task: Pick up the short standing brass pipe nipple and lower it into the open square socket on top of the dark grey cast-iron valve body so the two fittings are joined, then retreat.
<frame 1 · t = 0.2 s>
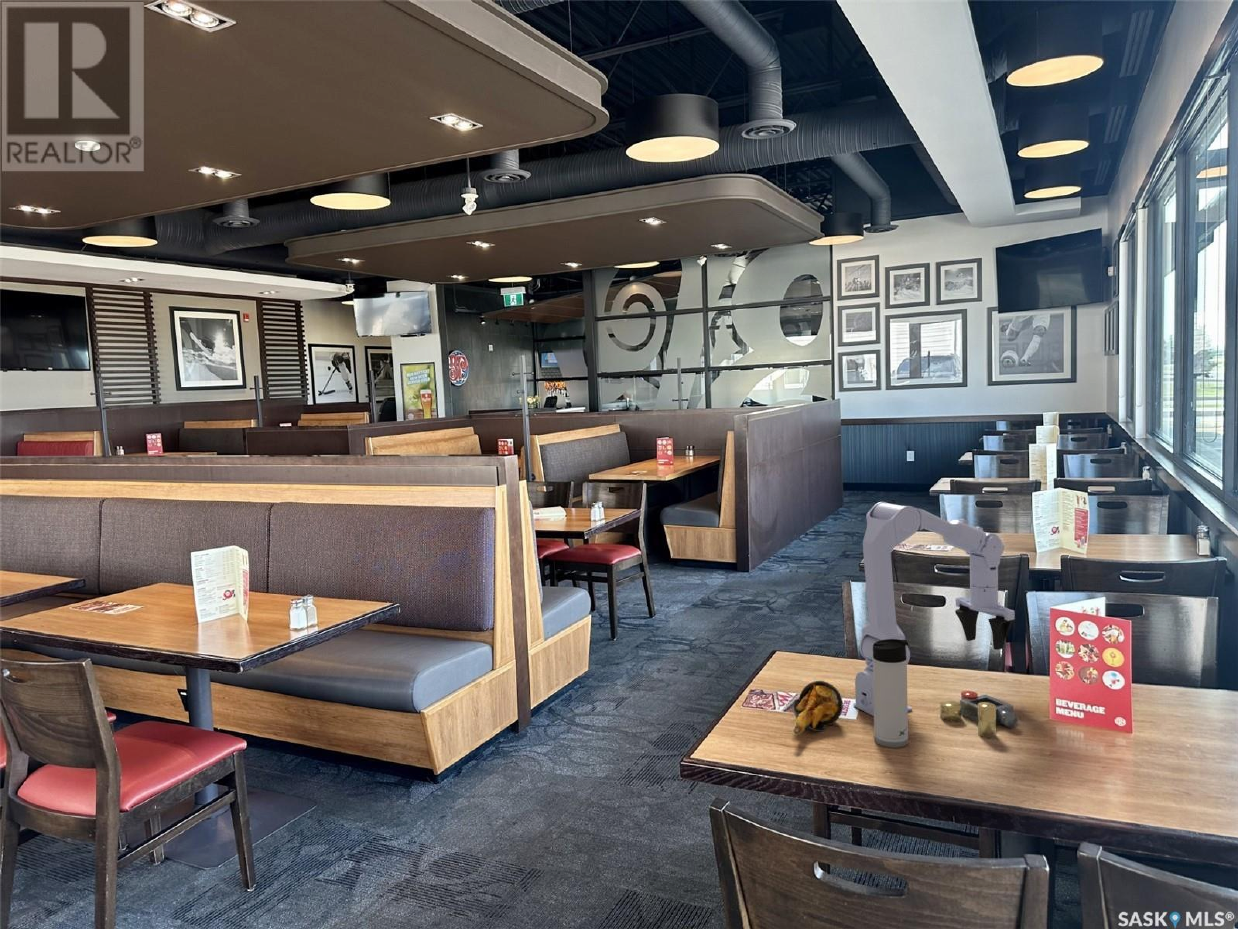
hand: (984, 644, 182), 10 cm above the table, fingers open, 7 cm apart
valve body: (986, 717, 166), on the table
fried food: (812, 730, 164), on the table
brass nipple: (987, 735, 158), on the table
travel mug: (892, 742, 157), on the table
brass union nut: (950, 718, 167), on the table
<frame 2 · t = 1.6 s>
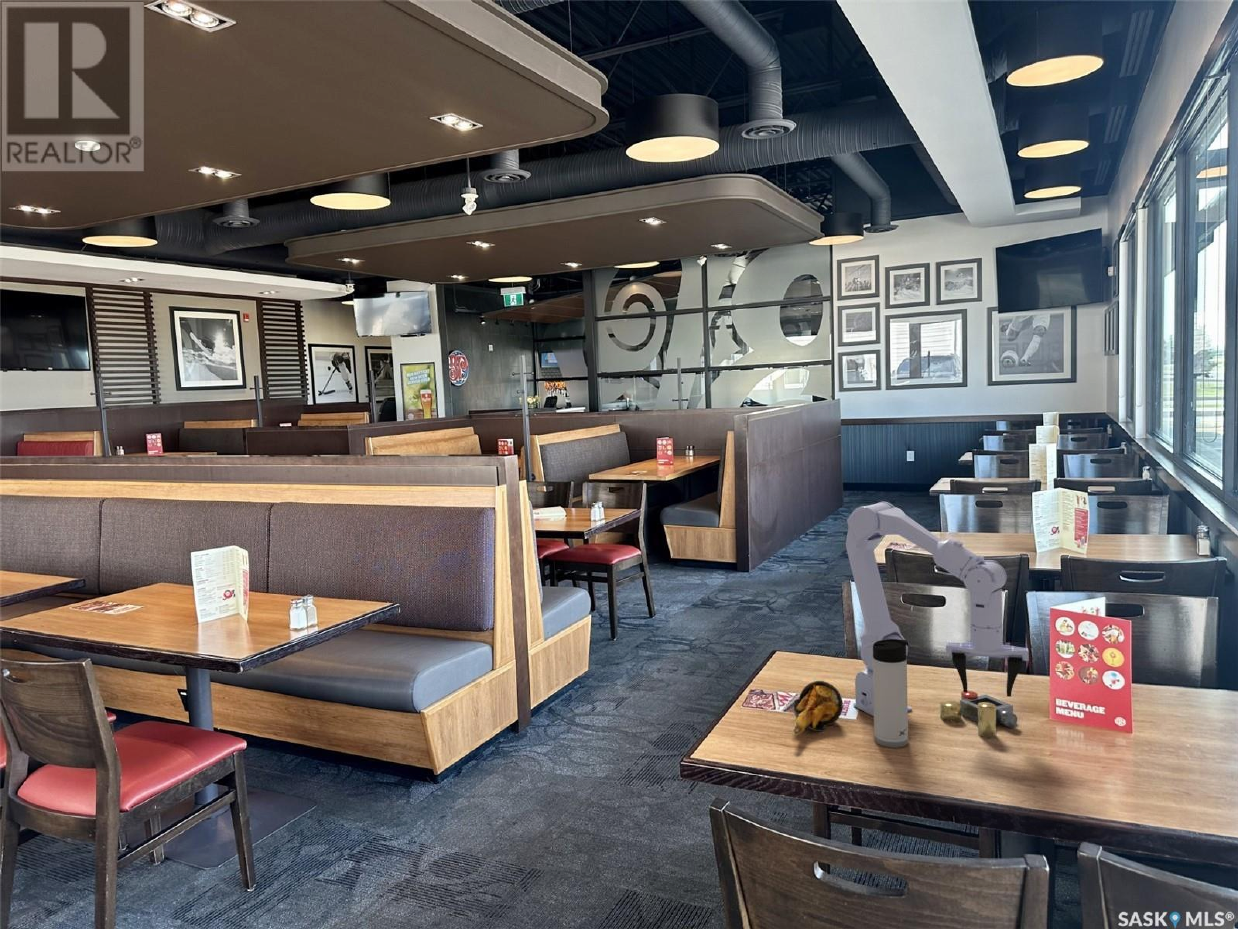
hand: (986, 692, 157), 8 cm above the table, fingers open, 7 cm apart
nothing on the table moved.
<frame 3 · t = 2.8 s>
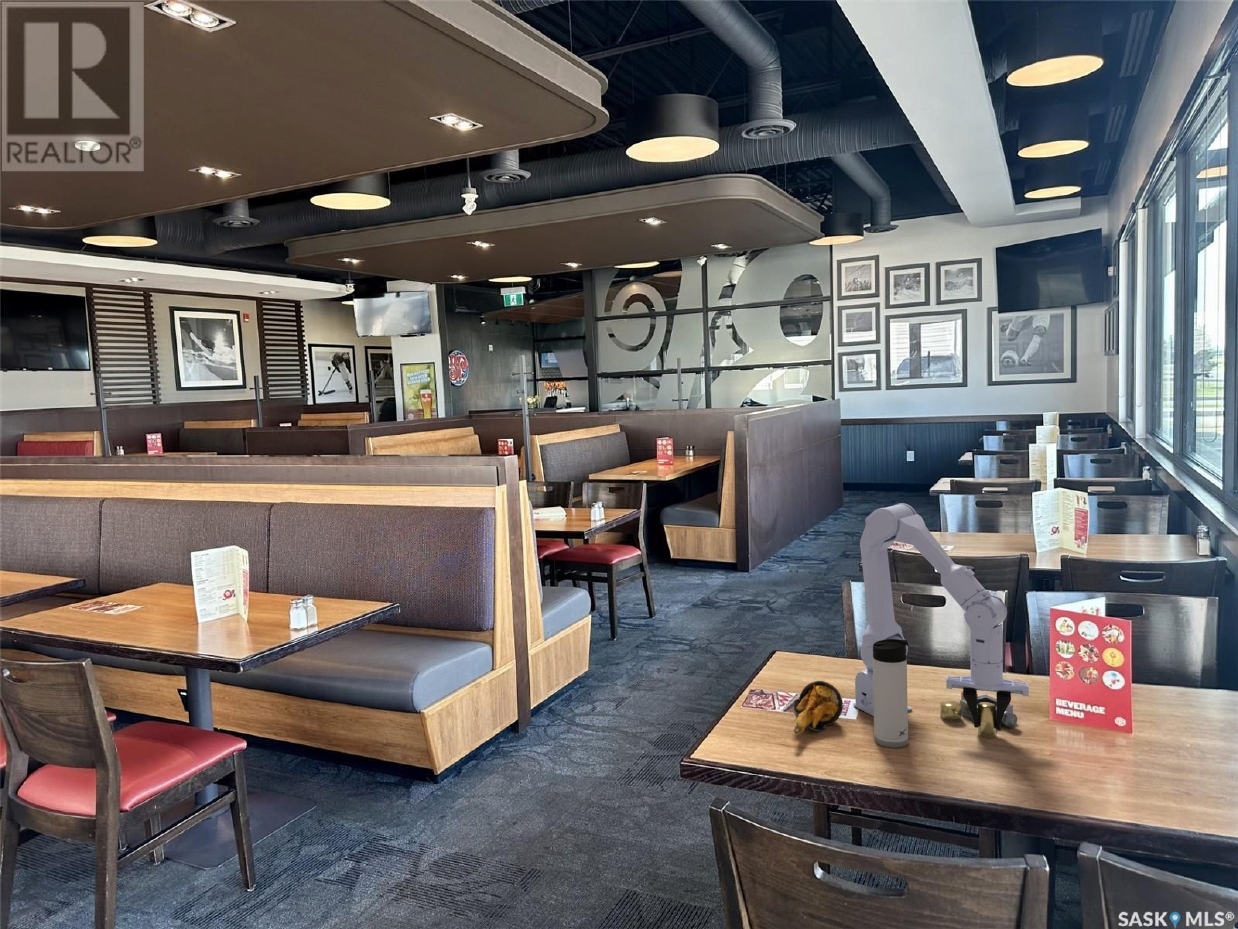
hand: (987, 727, 158), 2 cm above the table, fingers closed on brass nipple, 3 cm apart
brass nipple: (987, 735, 158), on the table, touching gripper
everything else where it was.
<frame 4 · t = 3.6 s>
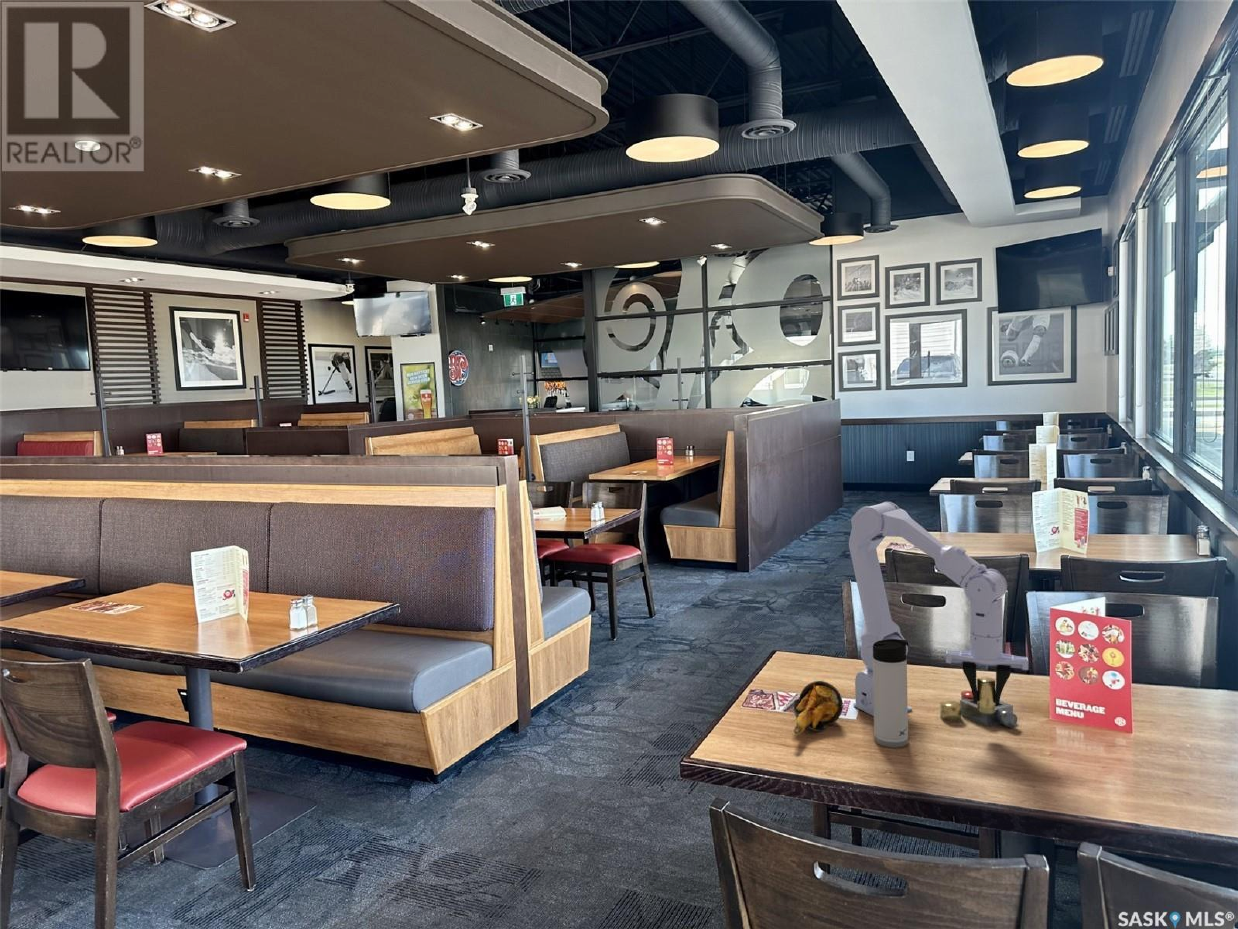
hand: (986, 701, 157), 7 cm above the table, fingers closed on brass nipple, 3 cm apart
brass nipple: (986, 710, 157), point 5 cm above the table, touching gripper
everything else where it was.
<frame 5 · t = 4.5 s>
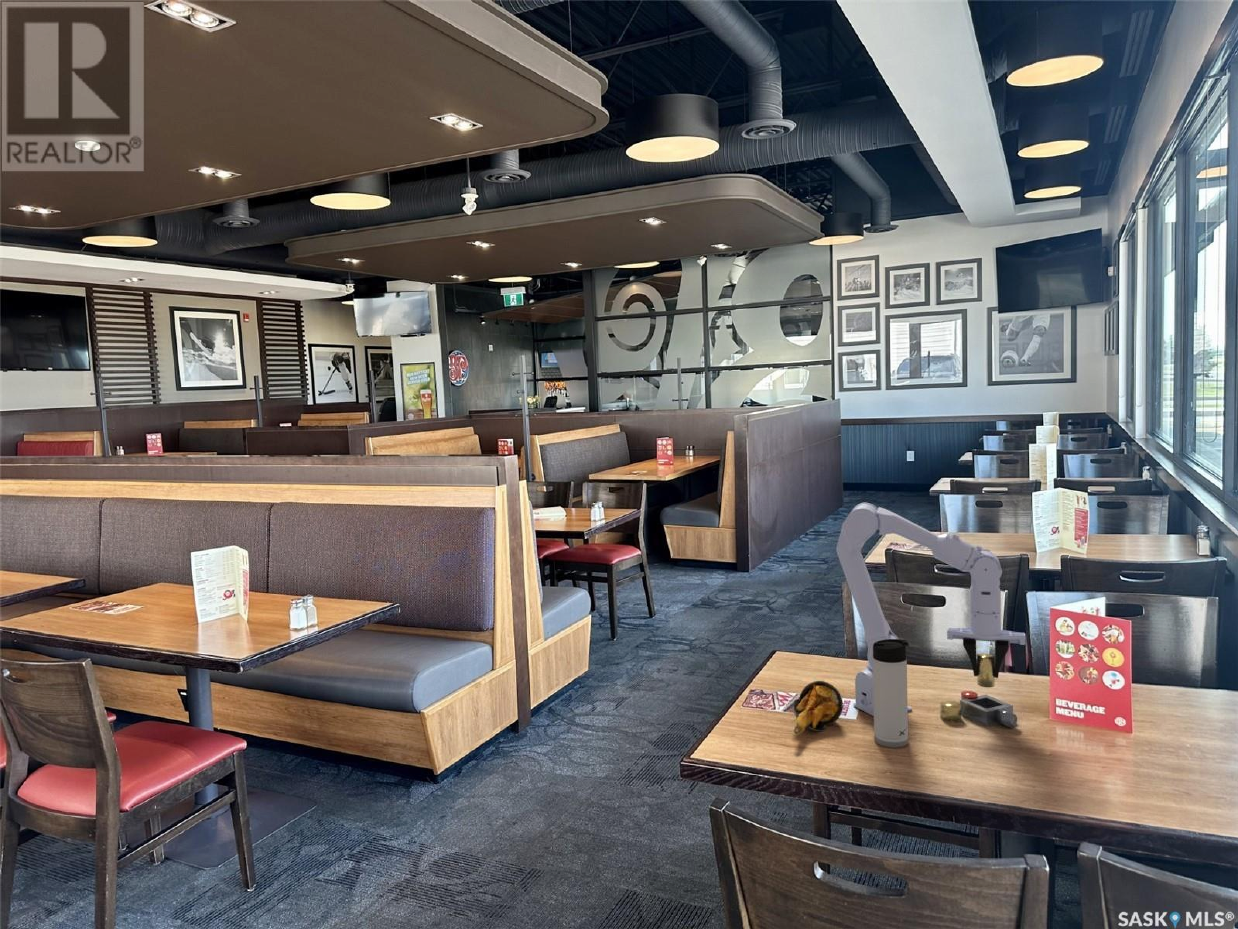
hand: (985, 675, 165), 9 cm above the table, fingers closed on brass nipple, 3 cm apart
brass nipple: (985, 684, 166), point 7 cm above the table, touching gripper
everything else where it was.
when the fingers open (4 cm above the table, at t = 5.7 s): brass nipple drops 1 cm, resting on valve body.
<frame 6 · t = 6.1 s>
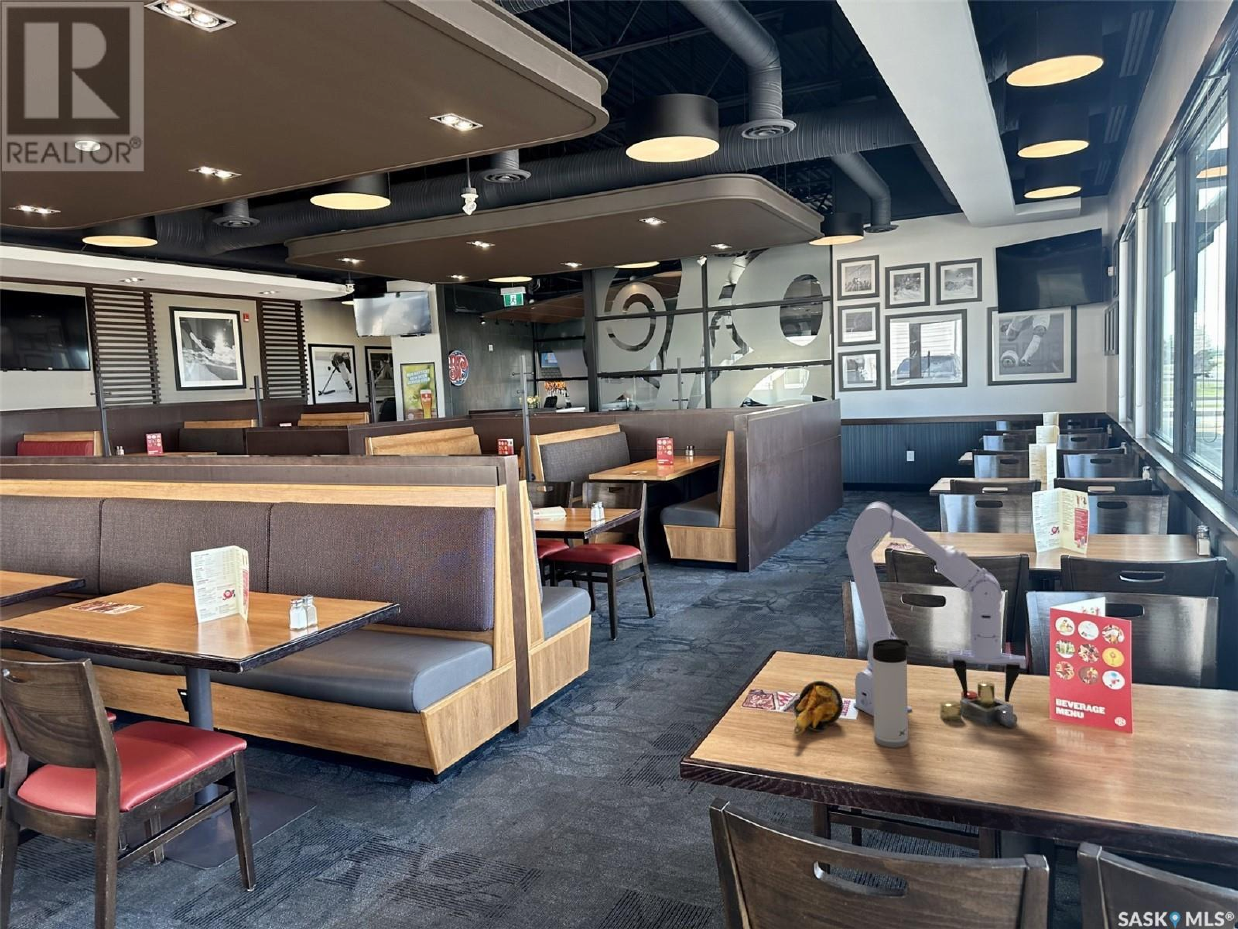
hand: (986, 698, 166), 4 cm above the table, fingers open, 7 cm apart
brass nipple: (986, 712, 166), point 1 cm above the table, touching valve body
everything else where it was.
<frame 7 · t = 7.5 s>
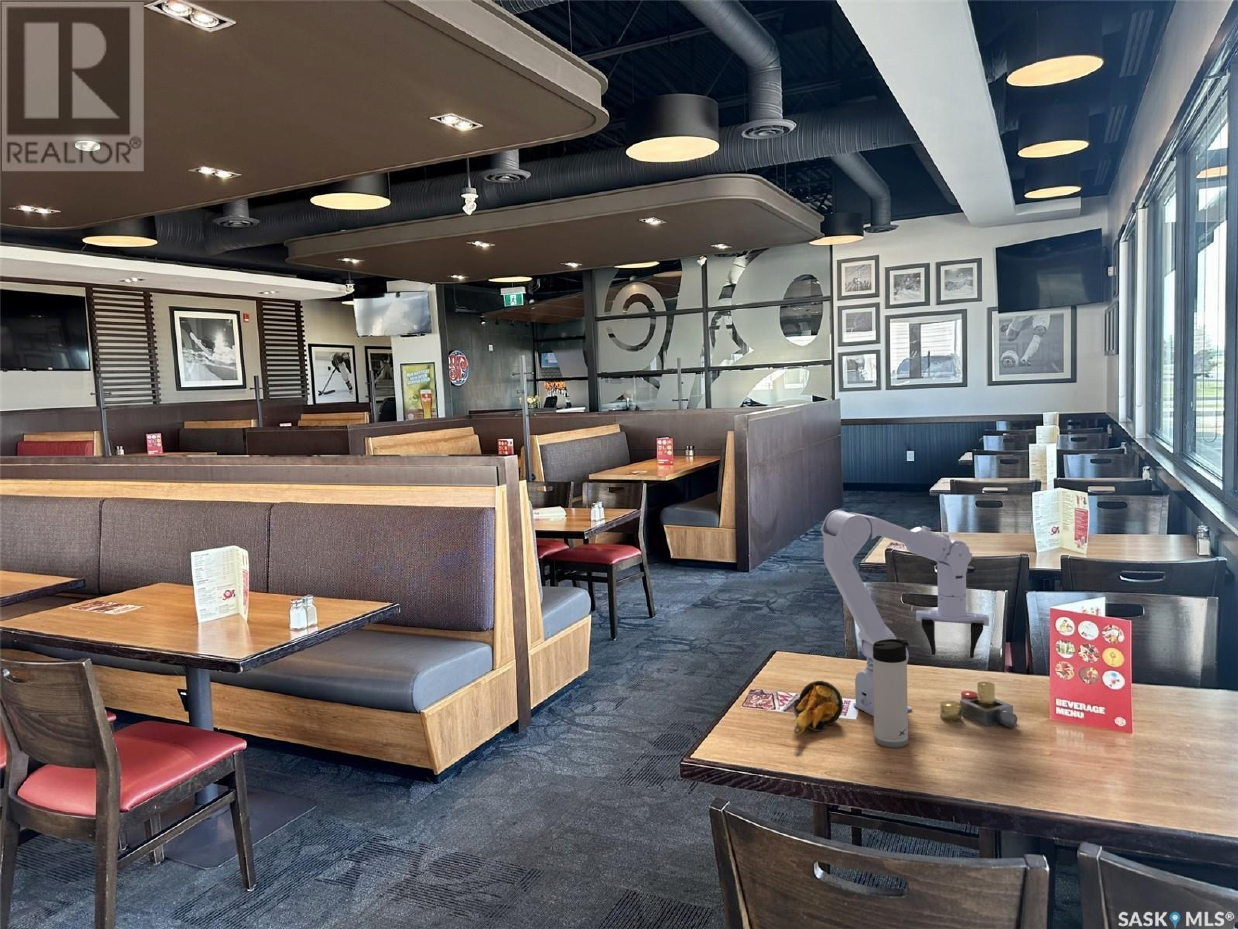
hand: (952, 655, 176), 10 cm above the table, fingers open, 7 cm apart
nothing on the table moved.
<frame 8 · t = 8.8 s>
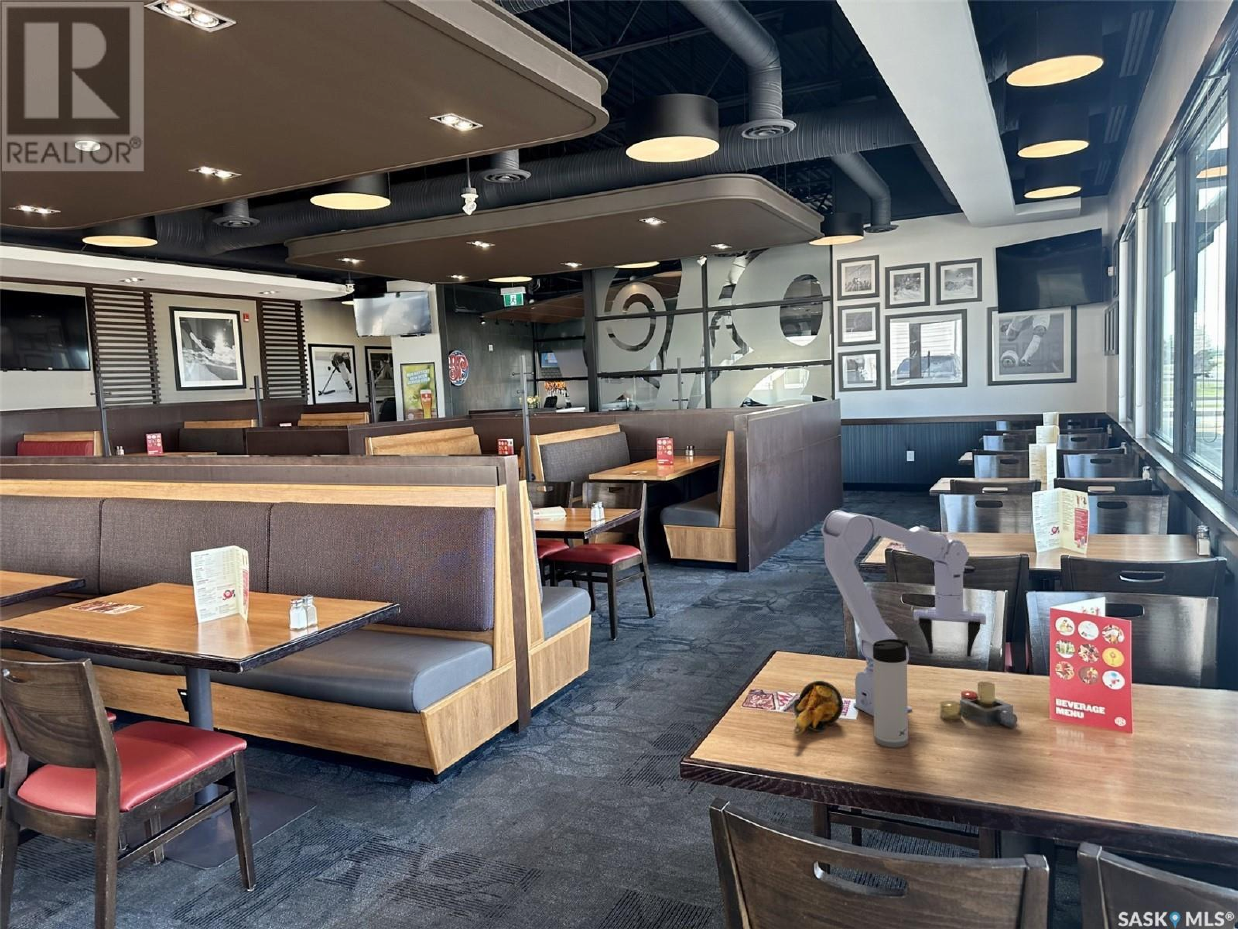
hand: (949, 653, 177), 10 cm above the table, fingers open, 7 cm apart
nothing on the table moved.
at the end: brass nipple 0.1 cm off-centre on the valve body, point 1.0 cm above the valve body's base; brass nipple tilted 0°; the gripper is holding nothing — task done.
